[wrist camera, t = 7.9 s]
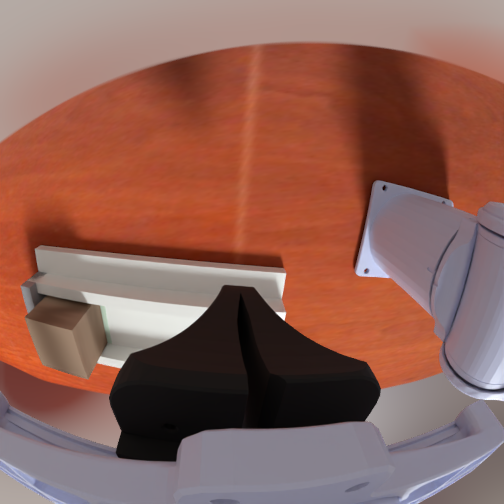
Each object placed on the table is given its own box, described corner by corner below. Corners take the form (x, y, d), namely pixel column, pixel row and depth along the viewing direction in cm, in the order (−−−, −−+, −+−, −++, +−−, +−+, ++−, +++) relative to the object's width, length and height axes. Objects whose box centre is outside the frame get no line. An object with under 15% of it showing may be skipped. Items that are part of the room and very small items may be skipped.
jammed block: (98, 296, 20) (72, 330, 15) (107, 342, 21) (88, 379, 17) (54, 288, 19) (24, 317, 14) (65, 333, 21) (42, 364, 16)
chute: (284, 268, 21) (294, 292, 17) (263, 376, 25) (267, 406, 22) (40, 245, 19) (15, 261, 15) (64, 347, 23) (49, 370, 19)
